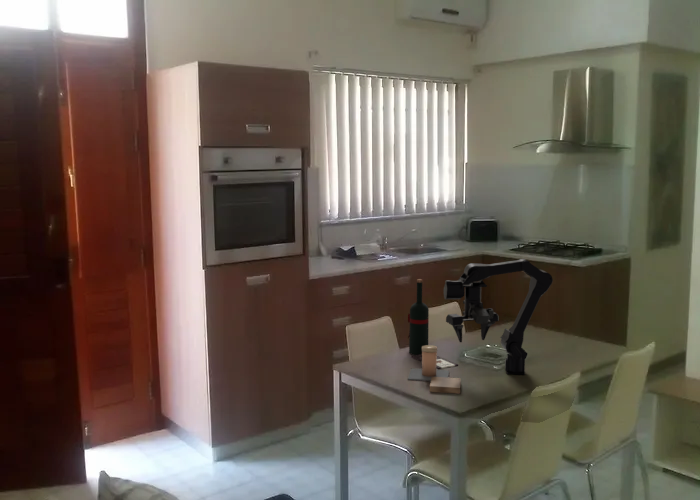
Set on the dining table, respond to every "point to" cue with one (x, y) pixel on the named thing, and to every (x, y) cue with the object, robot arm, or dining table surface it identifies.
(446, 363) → the chocolate bar
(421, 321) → the wine bottle
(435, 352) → the tan cylindrical piece
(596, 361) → the dining table surface
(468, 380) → the dining table surface
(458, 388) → the plate
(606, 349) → the dining table surface
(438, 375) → the mat
